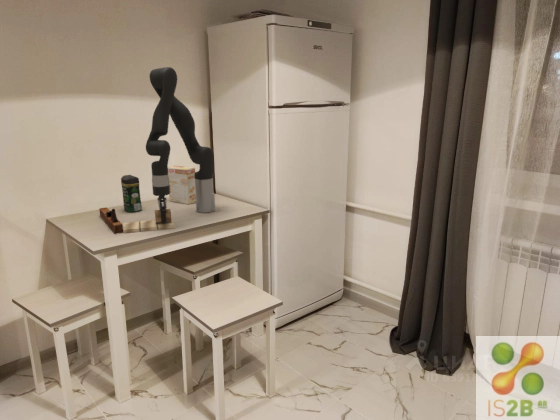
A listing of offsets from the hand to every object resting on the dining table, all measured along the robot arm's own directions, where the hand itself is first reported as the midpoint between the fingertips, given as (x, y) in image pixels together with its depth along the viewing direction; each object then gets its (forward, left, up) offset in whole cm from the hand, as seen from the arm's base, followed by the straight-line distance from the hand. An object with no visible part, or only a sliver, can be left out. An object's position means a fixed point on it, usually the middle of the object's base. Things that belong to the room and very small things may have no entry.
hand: (163, 220), depth 204 cm
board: (+7, 0, -3) cm, 7 cm away
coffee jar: (+14, -32, -3) cm, 35 cm away
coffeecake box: (-13, -42, -3) cm, 45 cm away
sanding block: (0, 0, -1) cm, 1 cm away
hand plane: (+24, -12, -3) cm, 27 cm away
